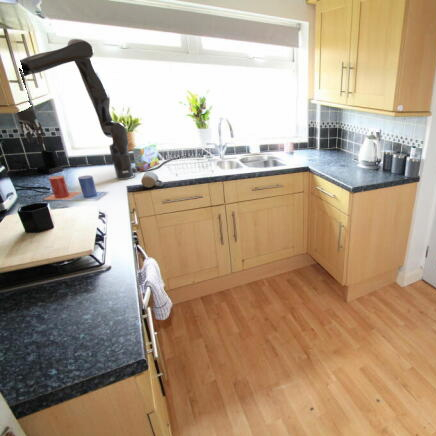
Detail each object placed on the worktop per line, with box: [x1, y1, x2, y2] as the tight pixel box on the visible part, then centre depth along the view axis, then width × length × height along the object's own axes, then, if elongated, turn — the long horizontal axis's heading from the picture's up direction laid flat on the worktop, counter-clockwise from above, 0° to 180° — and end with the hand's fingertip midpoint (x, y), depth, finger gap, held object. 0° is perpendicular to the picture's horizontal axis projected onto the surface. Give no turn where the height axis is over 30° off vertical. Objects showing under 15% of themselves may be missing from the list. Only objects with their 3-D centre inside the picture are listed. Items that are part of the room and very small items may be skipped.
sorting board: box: [43, 191, 107, 201], centre depth 165 cm, size 11×24×1 cm, turn 99°
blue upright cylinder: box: [78, 175, 98, 198], centre depth 163 cm, size 6×6×10 cm
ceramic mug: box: [140, 171, 164, 189], centre depth 183 cm, size 11×8×8 cm
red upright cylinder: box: [48, 175, 70, 198], centre depth 161 cm, size 6×6×10 cm
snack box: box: [131, 142, 160, 171], centre depth 218 cm, size 21×6×15 cm, turn 1°
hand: (36, 143), depth 160 cm, fingers open, 8 cm apart
